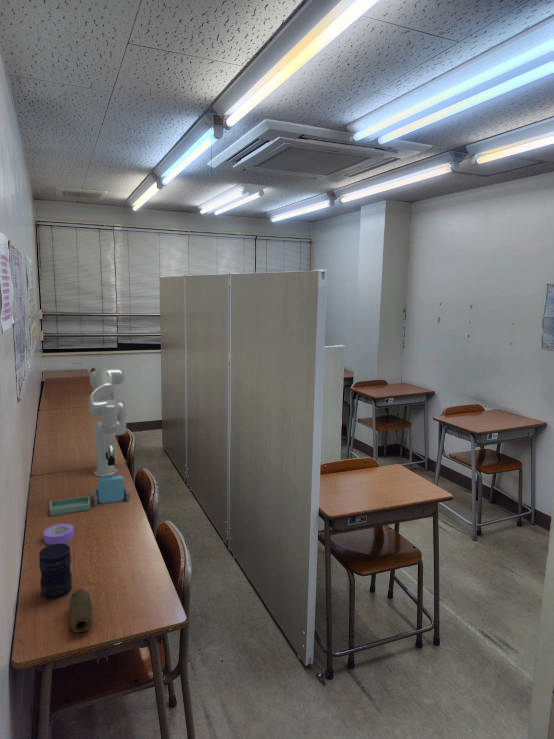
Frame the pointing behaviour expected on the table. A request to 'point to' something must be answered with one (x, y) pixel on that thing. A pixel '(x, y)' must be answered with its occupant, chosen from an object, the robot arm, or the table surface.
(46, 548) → the storage jar
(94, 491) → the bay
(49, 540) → the masking tape
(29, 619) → the table surface
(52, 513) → the tray
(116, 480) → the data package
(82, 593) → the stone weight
